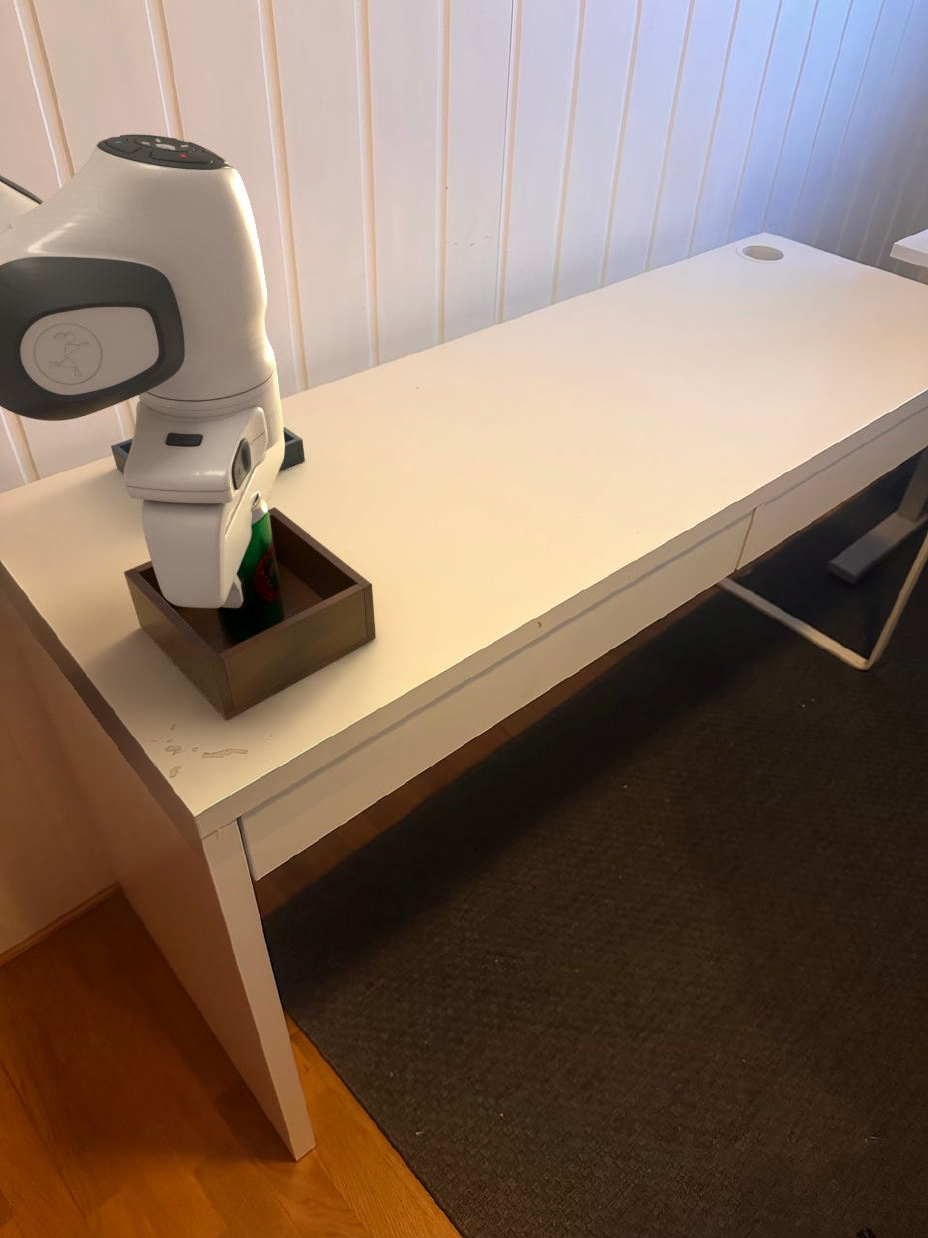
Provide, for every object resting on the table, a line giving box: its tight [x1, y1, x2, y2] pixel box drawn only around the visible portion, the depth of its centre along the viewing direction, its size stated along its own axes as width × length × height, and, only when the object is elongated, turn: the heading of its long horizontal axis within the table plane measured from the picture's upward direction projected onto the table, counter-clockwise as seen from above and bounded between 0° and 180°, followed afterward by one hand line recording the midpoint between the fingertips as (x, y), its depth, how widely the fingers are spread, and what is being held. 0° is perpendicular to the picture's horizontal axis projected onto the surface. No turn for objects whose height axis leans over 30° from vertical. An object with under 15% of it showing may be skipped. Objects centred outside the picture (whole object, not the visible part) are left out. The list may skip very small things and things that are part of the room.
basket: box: [123, 506, 377, 721], centre depth 70 cm, size 14×14×6 cm
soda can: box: [216, 492, 284, 642], centre depth 67 cm, size 5×5×12 cm
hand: (243, 575), depth 68 cm, fingers closed on soda can, 5 cm apart
